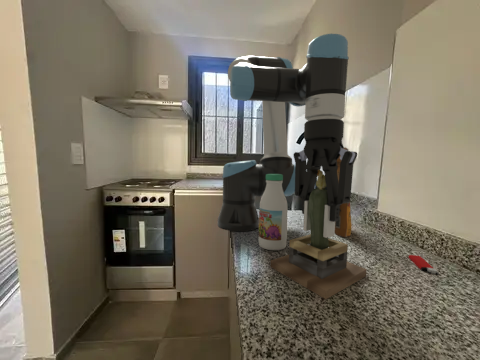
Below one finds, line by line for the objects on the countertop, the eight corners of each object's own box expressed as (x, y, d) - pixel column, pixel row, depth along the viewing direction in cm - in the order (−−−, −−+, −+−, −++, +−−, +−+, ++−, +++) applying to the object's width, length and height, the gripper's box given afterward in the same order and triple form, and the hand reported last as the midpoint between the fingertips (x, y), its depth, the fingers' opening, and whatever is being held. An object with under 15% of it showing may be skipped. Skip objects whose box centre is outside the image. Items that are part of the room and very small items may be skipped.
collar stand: (270, 266, 50) (271, 238, 50) (310, 252, 58) (311, 228, 58) (325, 299, 39) (327, 263, 38) (366, 276, 47) (368, 245, 46)
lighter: (422, 256, 55) (439, 271, 48) (421, 261, 55) (438, 277, 48) (408, 254, 56) (423, 269, 49) (408, 259, 56) (422, 274, 49)
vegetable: (329, 268, 46) (334, 170, 44) (307, 266, 47) (311, 169, 45) (325, 259, 50) (330, 169, 48) (305, 257, 51) (309, 169, 49)
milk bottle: (269, 238, 68) (271, 172, 66) (291, 246, 63) (294, 174, 61) (252, 245, 63) (254, 173, 61) (275, 253, 57) (277, 175, 55)
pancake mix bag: (331, 238, 69) (336, 146, 67) (324, 221, 88) (328, 149, 85) (355, 240, 67) (361, 146, 65) (343, 223, 86) (347, 149, 83)
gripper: (279, 123, 50) (276, 225, 53) (356, 110, 36) (348, 250, 38) (302, 126, 55) (298, 220, 57) (378, 116, 41) (369, 241, 43)
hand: (318, 232), depth 48 cm, fingers closed on vegetable, 4 cm apart
